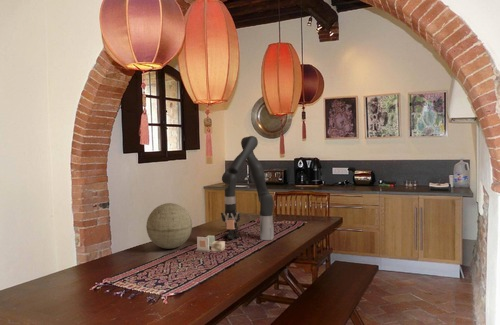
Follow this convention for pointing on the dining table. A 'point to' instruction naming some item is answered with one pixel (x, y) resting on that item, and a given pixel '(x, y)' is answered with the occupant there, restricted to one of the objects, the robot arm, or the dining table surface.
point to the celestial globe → (169, 225)
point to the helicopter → (231, 233)
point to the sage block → (211, 239)
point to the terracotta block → (230, 224)
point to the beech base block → (218, 246)
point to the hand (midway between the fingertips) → (231, 227)
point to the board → (203, 244)
